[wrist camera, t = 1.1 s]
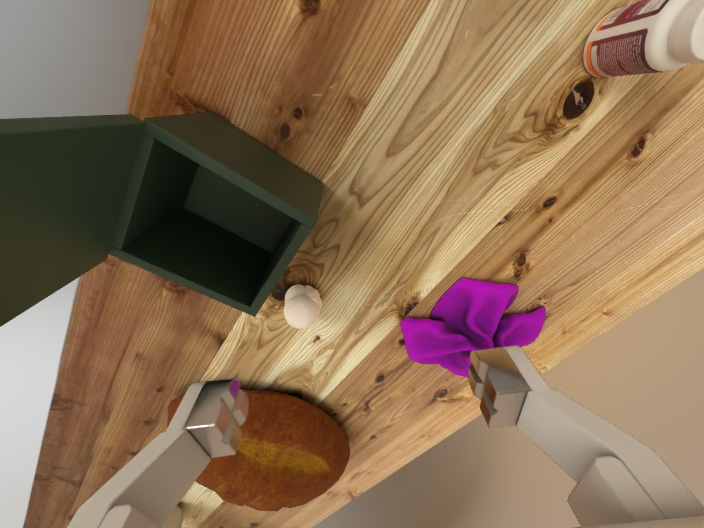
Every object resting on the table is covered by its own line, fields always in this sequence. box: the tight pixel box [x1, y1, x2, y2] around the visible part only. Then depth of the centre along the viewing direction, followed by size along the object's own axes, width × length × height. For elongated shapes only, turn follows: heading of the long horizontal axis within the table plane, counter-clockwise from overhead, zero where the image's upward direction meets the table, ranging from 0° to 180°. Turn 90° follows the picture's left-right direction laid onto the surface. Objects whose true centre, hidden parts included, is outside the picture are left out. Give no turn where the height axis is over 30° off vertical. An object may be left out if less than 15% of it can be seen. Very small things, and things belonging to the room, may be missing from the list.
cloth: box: [400, 278, 545, 377], centre depth 38 cm, size 22×19×6 cm
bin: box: [109, 112, 323, 317], centre depth 24 cm, size 12×11×10 cm
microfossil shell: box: [284, 285, 322, 329], centre depth 33 cm, size 4×5×6 cm
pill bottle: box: [583, 0, 704, 77], centre depth 20 cm, size 5×5×8 cm
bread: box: [167, 389, 350, 511], centre depth 44 cm, size 21×33×12 cm, turn 52°
